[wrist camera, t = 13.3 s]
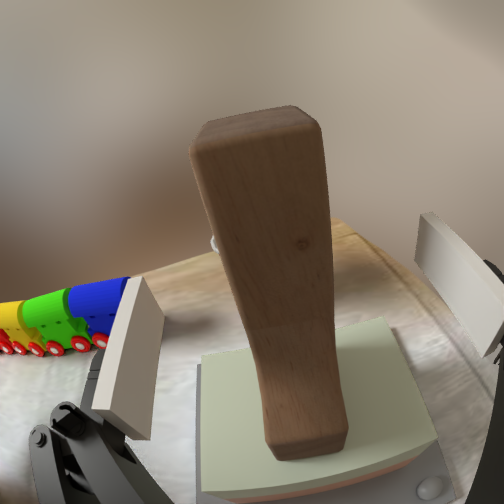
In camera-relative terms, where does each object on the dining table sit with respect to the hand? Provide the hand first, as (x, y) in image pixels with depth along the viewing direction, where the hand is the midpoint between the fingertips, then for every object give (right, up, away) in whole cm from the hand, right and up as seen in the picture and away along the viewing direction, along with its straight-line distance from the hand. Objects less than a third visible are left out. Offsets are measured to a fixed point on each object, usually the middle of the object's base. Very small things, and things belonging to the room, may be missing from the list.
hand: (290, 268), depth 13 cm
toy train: (-38, -16, +31) cm, 51 cm away
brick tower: (+4, -18, +12) cm, 22 cm away
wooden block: (+2, -10, +6) cm, 12 cm away
